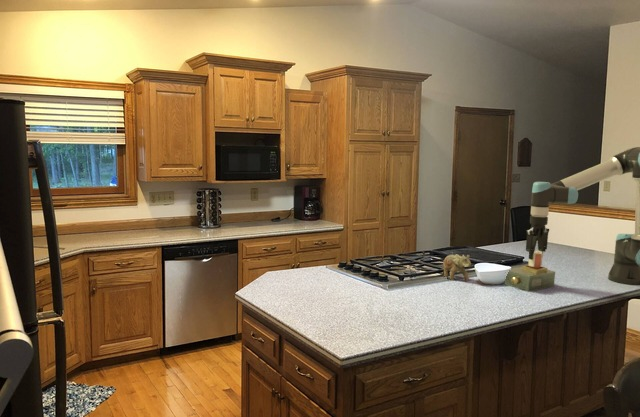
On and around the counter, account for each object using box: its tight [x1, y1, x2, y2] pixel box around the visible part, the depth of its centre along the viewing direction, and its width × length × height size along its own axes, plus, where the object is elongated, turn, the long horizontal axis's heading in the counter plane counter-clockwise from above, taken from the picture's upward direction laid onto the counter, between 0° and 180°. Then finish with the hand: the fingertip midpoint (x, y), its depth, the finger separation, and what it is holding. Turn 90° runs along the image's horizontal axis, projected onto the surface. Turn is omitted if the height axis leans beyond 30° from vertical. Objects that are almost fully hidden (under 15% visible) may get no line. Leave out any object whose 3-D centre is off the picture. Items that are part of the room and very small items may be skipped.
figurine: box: [442, 253, 472, 282], centre depth 254 cm, size 10×16×16 cm, turn 14°
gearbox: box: [504, 264, 556, 293], centre depth 245 cm, size 20×13×8 cm, turn 121°
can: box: [529, 250, 542, 269], centre depth 246 cm, size 5×5×9 cm
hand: (535, 265), depth 247 cm, fingers closed on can, 4 cm apart
